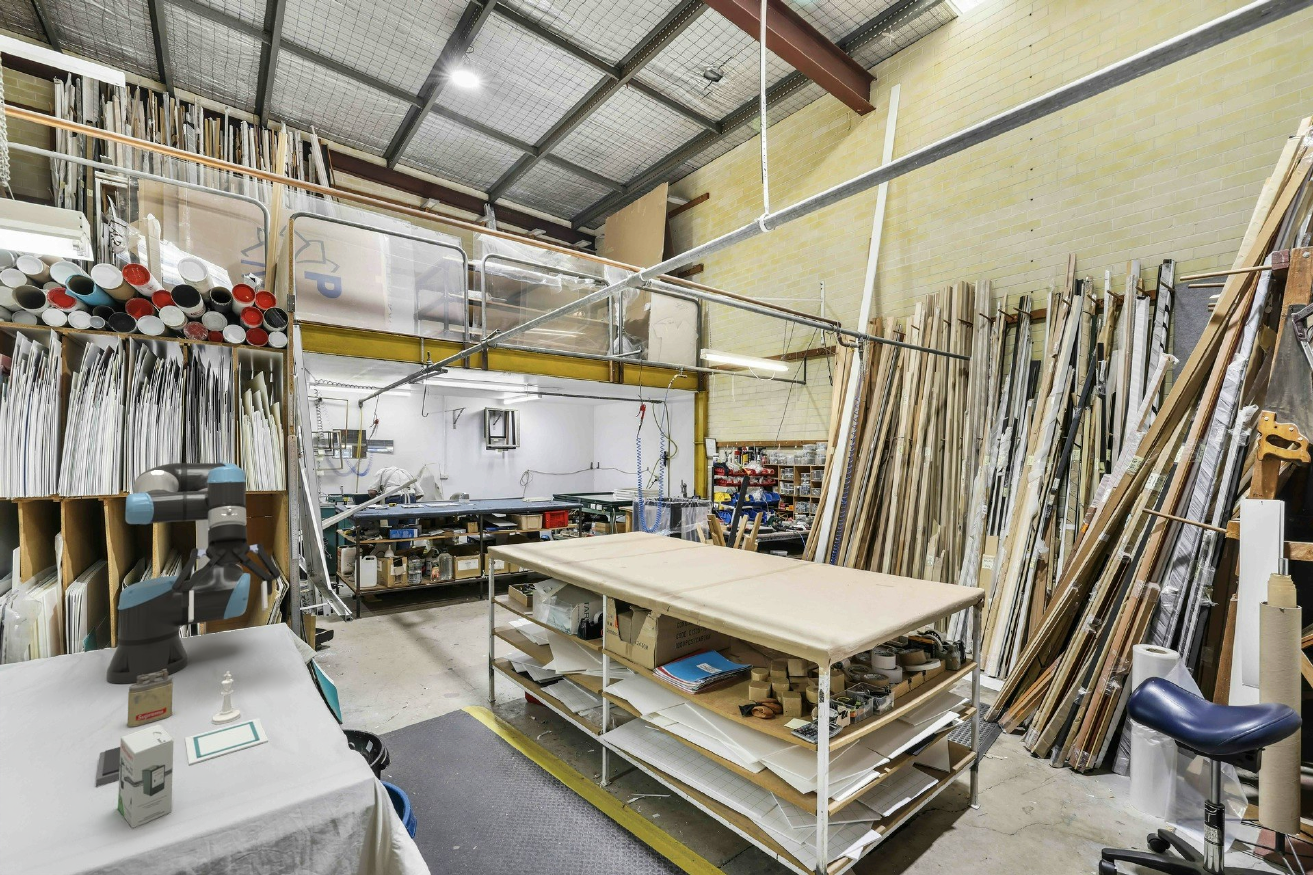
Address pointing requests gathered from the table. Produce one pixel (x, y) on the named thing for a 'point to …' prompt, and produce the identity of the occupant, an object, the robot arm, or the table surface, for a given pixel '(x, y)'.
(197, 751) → the print card
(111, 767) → the ink pad
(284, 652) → the table surface
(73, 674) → the table surface
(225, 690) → the chess piece
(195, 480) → the robot arm
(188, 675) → the table surface
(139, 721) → the lighter
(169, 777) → the ink box
